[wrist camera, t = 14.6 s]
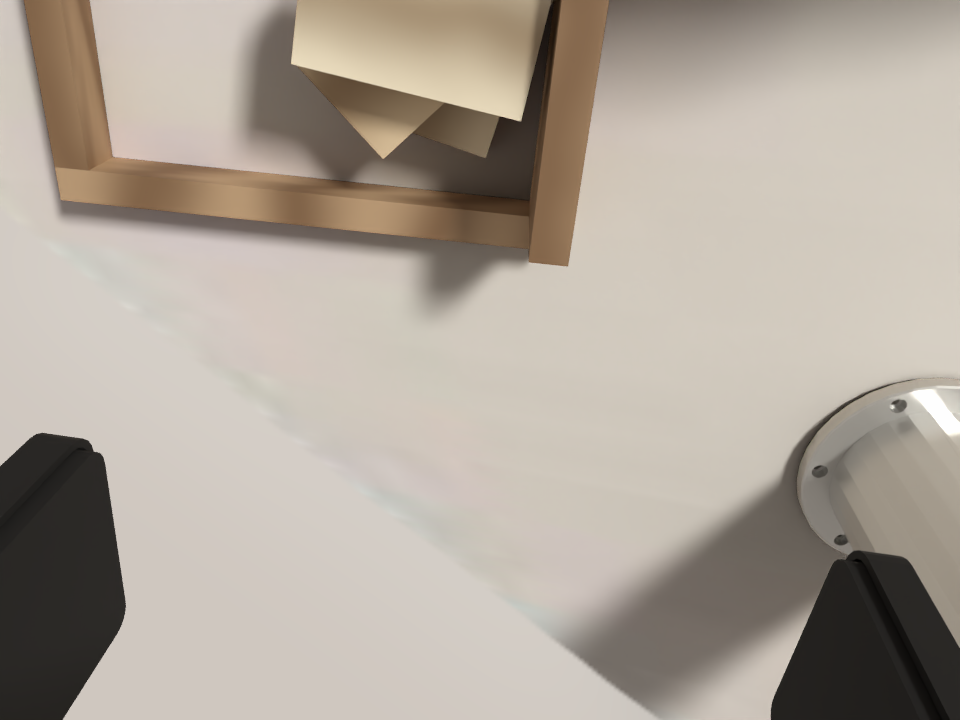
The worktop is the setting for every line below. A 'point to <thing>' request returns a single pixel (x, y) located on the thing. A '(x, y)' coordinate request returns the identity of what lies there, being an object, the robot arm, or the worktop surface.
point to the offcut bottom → (460, 128)
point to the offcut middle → (375, 108)
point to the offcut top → (428, 47)
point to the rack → (320, 202)
